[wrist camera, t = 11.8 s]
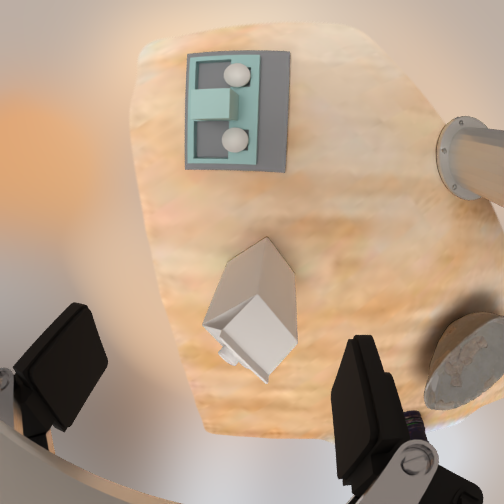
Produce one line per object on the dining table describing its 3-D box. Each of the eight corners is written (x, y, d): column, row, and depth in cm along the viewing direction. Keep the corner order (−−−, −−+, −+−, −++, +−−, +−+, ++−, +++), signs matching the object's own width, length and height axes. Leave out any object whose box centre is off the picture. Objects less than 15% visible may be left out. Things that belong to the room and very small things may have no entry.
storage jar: (380, 422, 56) (389, 471, 42) (415, 405, 53) (430, 454, 39) (392, 434, 59) (401, 478, 45) (424, 418, 55) (437, 462, 42)
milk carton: (267, 235, 40) (253, 320, 22) (295, 273, 42) (299, 370, 24) (227, 261, 42) (190, 351, 25) (255, 296, 44) (238, 394, 27)
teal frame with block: (260, 57, 29) (255, 40, 22) (256, 163, 35) (250, 171, 28) (193, 60, 30) (172, 45, 23) (190, 162, 36) (170, 170, 29)
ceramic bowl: (501, 270, 37) (530, 298, 28) (490, 352, 45) (508, 380, 36) (405, 314, 43) (425, 353, 34) (410, 389, 50) (422, 423, 41)
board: (289, 53, 29) (290, 45, 26) (285, 171, 36) (285, 176, 32) (189, 55, 30) (180, 48, 27) (187, 168, 37) (177, 172, 33)
